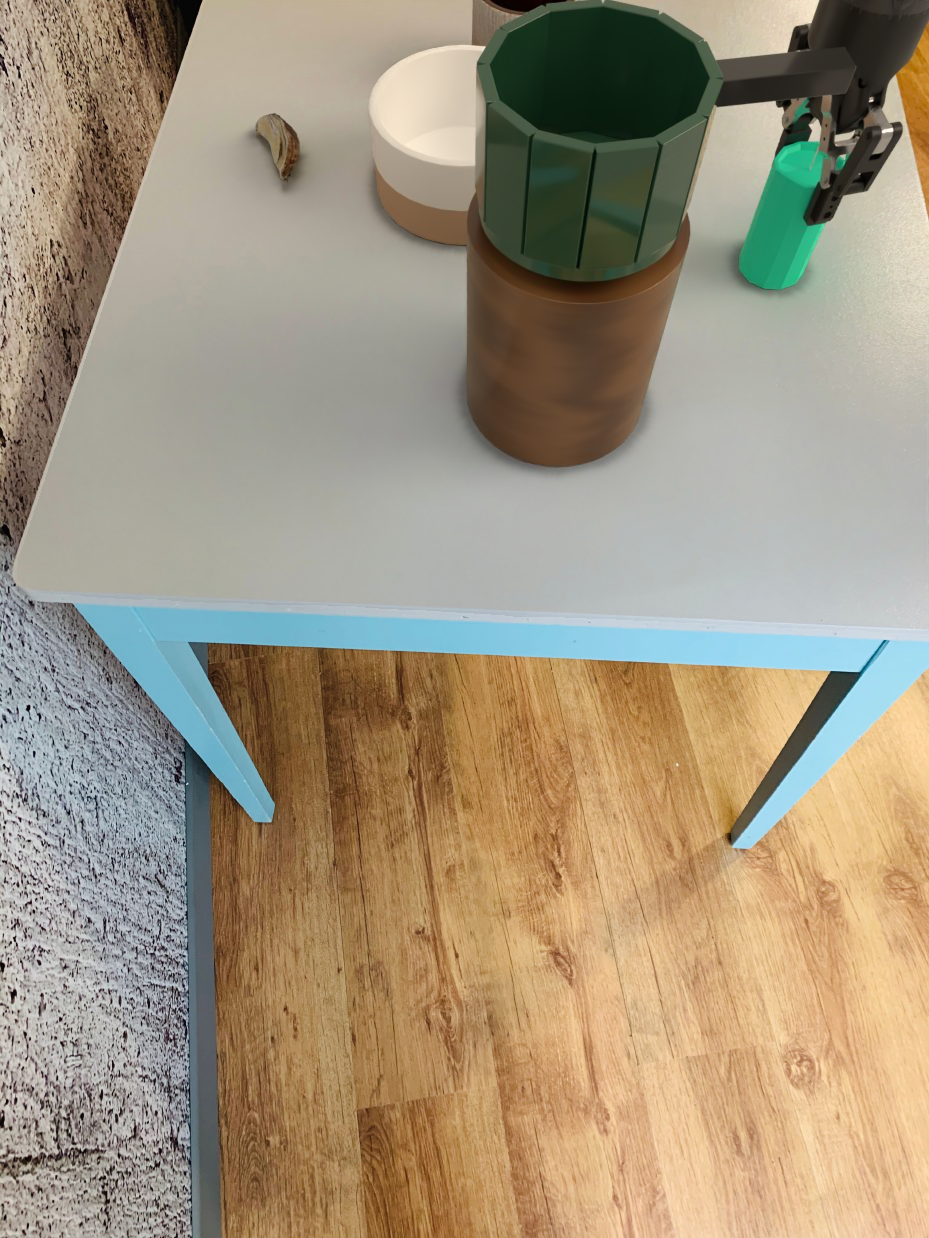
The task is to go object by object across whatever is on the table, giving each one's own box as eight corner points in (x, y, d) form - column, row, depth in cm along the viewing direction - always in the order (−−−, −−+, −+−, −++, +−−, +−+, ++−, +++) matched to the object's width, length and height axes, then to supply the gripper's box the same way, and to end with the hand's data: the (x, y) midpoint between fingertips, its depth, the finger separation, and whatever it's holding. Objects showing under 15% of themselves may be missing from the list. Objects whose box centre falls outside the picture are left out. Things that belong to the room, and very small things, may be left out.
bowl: (532, 259, 80) (539, 179, 72) (356, 230, 82) (345, 150, 74) (564, 141, 87) (573, 57, 80) (401, 117, 89) (395, 32, 81)
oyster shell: (277, 187, 91) (308, 188, 83) (243, 173, 88) (271, 173, 81) (290, 126, 89) (323, 122, 81) (256, 111, 87) (287, 105, 79)
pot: (497, 294, 53) (502, 163, 45) (462, 150, 59) (461, 11, 51) (836, 253, 54) (900, 119, 46) (769, 116, 60) (816, -24, 52)
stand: (609, 315, 77) (646, 131, 61) (666, 446, 71) (724, 279, 55) (448, 346, 75) (443, 167, 60) (492, 483, 69) (500, 323, 53)
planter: (460, 106, 90) (460, 7, 81) (483, 44, 94) (485, -55, 85) (562, 122, 88) (572, 24, 80) (580, 59, 93) (592, -41, 84)
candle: (772, 300, 78) (822, 182, 67) (724, 263, 80) (765, 143, 69) (816, 270, 79) (872, 150, 68) (768, 234, 81) (815, 113, 70)
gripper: (990, 31, 55) (877, 246, 70) (889, -87, 61) (804, 134, 76) (883, 49, 54) (792, 262, 69) (791, -73, 60) (726, 148, 75)
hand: (799, 194), depth 73 cm, fingers closed on candle, 6 cm apart
